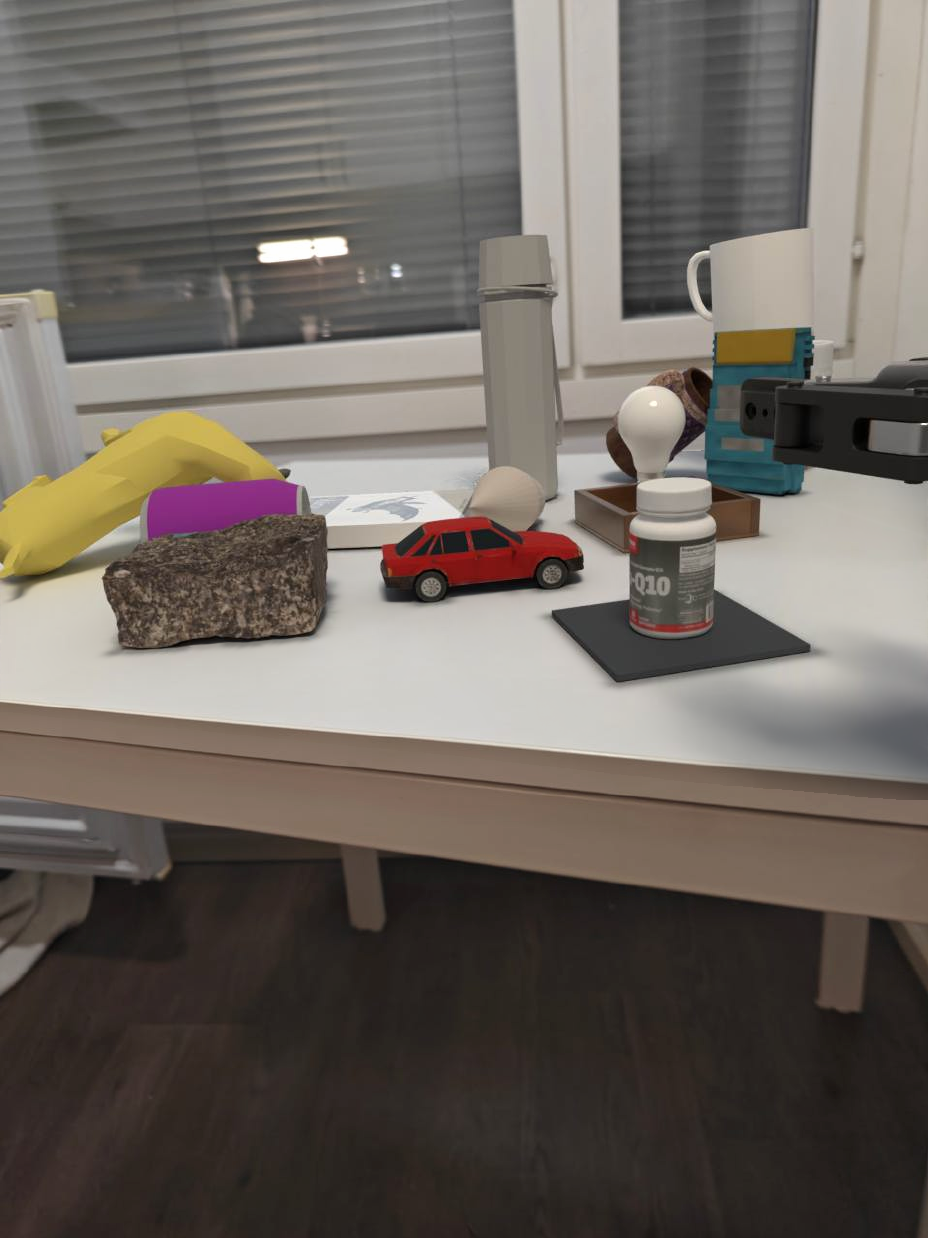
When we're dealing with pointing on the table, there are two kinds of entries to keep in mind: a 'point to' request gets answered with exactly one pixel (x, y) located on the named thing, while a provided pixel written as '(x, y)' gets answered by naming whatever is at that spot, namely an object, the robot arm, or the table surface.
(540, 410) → the water bottle
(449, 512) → the book
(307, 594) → the stone
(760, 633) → the mat
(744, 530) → the wooden tray
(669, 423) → the lightbulb
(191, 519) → the beverage can
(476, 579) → the toy car
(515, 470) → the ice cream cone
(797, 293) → the mug
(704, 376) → the mug
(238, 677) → the table surface
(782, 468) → the teal upright box
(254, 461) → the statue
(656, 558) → the pill bottle
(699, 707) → the table surface
